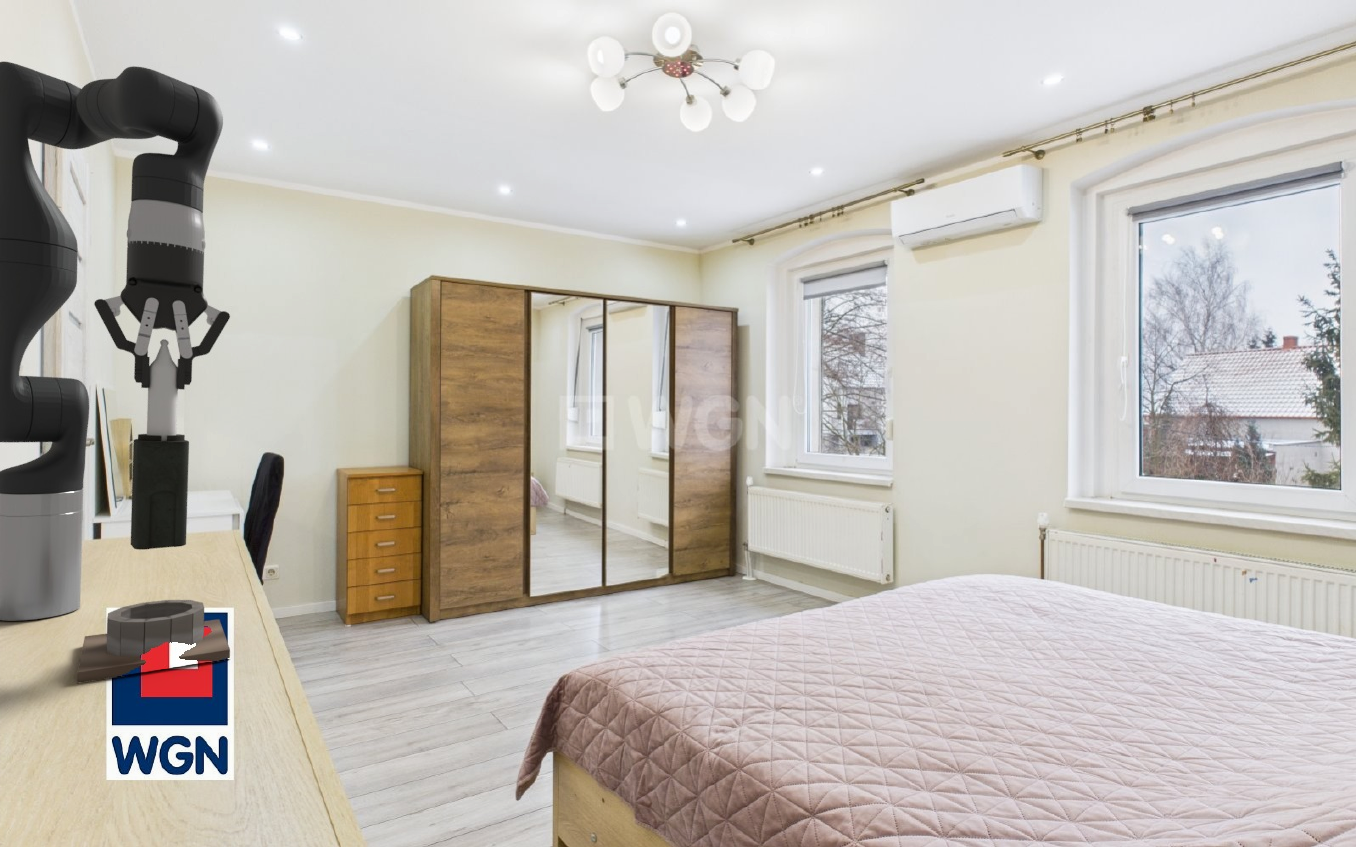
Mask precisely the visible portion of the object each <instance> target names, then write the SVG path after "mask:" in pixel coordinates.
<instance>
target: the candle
mask: <svg viewBox="0 0 1356 847" xmlns="http://www.w3.org/2000/svg"><path fill="white" fill-rule="evenodd" d="M159 344H160V346H159V350H158V352H157V354H156V356H155V359H154V360H153V361H152V362H151V363H150V364H149V388H147V410H146V412H147V413H146V414H147V416H146V418H147V421H146V433H139V434H137V438H136V439H133V449H132V451H133V452H132V477H131V478H132V483H131V484H132V486H131V517H130V518H131V520H130V522H131V523H130V545H131V547H132V548H133V549H134V550H139V551H140V550H154V549H161V548H177V547H178V548H179V547H182V546H183V547H184V546H186V545H187V524H188V493H189V492H188V490H189V489H188V488H189V487H188V485H189V461H190V460H189V459H190V458H189V456H190V455H189V454H190V441H188V440H186V438H185V434H181V433H180V434H179V433H178V434H177V429H178V428H177V425H178V424H177V422H178V393H179V392H178V390H179V389H177V387H178V365H177V364H176V363H175V361H174V360H173V358H172V355H171V353H170V349H169V346H168V345H170V344H169V341H168V339H166V338H165V339H161V340H160V342H159Z"/></svg>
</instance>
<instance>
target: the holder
mask: <svg viewBox="0 0 1356 847" xmlns="http://www.w3.org/2000/svg"><path fill="white" fill-rule="evenodd" d="M204 626H208V627H210V628H211V631H212V632H211V633H209V634H208V635H206V636H204ZM203 636H204V638H203ZM165 642H168V643H170V642H171V643H172V642H178V643H185V644H188V645H189V644H190V645H192V644H194V643H196V646H195V647H193V648H191V649H190V650H187V651H185V652H184V654H182V655H181V656H179V658H180V659H185V660H197V661H217V662H220V661H219V660H222V659H226V658H230V659H231V657H230V656H231V650H230V646H229V643H228V640H227V637H226V634H225V632H224V629H223V626H222V624H221V620H220V619H219V618H218V619H211V620H205V605H204V603H203V602H202V601H196V600H192V599H164V600H163V599H162V600H156V601H155V600H154V601H146V602H145V601H144V602H139V603H135V604H129V605H127V606H122V607H120V608H117V609H115V610H112V611H110V612H108V613H107V618H106V633H100V634H94V635H93V634H92V635H85V636H84V639H83V643H82V647H81V648H82V649H81V651H80V652H81V653H80V656H79V657H80V658H79V663H78V667H77V671H76V684H82V683H89V682H94V681H95V682H96V681H100V680H106V679H112V678H113V679H115V678H118V677H117V676H121V677H123V676H122V675H123V674H126V673H129V672H130V671H131V670H134V669H135V668H138V667H140V666H141V665H144V664H145V663H146V661H145V660H141V658H140V655H142V654H145V653H147V652H149V651H150V650H151V648H155V647H158V646H160V645H162V644H163V643H165Z"/></svg>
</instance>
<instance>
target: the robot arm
mask: <svg viewBox="0 0 1356 847" xmlns="http://www.w3.org/2000/svg"><path fill="white" fill-rule="evenodd" d="M223 125H224V117H223V112H222V109H221V107H220V104H219V103H218V101H217V100H216V99H215V97H214V96H213V95H212V94H211V93H210V92H208V91H205V90H204V89H203V88H199V87H197V86H195V85H191V84H189V83H186V82H184V81H181V80H179V79H176V78H174V77H171V76H169V75H167V74H165V73H161V72H159V71H157V70H154V69H151V68H148V67H143V66H134V65H133V66H128V67H126V68H125V69H123V71H121V73H120V74H119V75H118V76H116V77H115V78H103V79H96V80H92V81H90V82H89V83H86V84H84V86H83V87H82V88H80V87H78V86H77V85H75V84H73V83H71V82H68V81H66V80H64V79H59V78H57V77H54V76H51V75H48V74H46V73H43V72H40V71H37V70H35V69H32V68H29V67H27V66H24V65H20V64H17V63H14V62H10V61H0V443H51V446H50V448H49V449H48V450H47V451H46V453H44V454H42V455H41V456H39V457H36V458H35V459H32V460H29V461H27V462H25V463H22V464H18V465H15V466H11V467H8V468H4V469H1V470H0V621H7V622H8V621H9V622H11V621H13V622H15V621H17V622H18V621H29V620H38V619H39V620H40V619H45V618H52V617H57V616H61V615H65V614H68V613H72V612H74V611H77V610H79V608H81V590H82V588H81V586H82V585H81V584H82V559H83V558H82V554H83V549H82V548H83V513H84V510H83V508H84V478H85V477H84V476H85V468H86V450H87V448H86V447H87V438H88V430H89V429H88V426H89V421H90V420H89V418H90V397H89V392H88V389H87V388H86V385H85V384H84V383H83V382H82V381H81V380H80V379H78V378H71V377H70V378H69V377H68V378H67V377H57V376H56V377H55V376H53V377H52V376H34V375H20V371H21V364H22V361H23V358H24V355H25V353H26V351H27V349H28V346H29V345H30V343H31V342H32V340H33V339H34V337H36V334H38V332H39V331H40V330H41V329H42V328H43V326H44V325H45V324H46V323H47V322H48V321H50V319H51V318H52V317H53V316H54V315H55V314H56V313H58V311H59V310H60V309H61V308H62V306H63V305H64V304H66V302H67V301H68V300H69V299H70V297H71V296H72V295H73V293H74V292H75V290H76V287H77V283H78V251H79V250H78V240H77V237H76V235H75V232H74V231H73V229H72V227H71V225H70V224H69V222H68V221H67V218H66V217H65V215H64V214H63V213H62V211H61V209H60V208H59V207H58V205H57V203H56V202H55V200H53V198H52V197H51V195H50V194H49V193H48V191H47V189H46V188H45V186H44V185H43V183H42V181H41V179H40V177H39V175H38V173H37V171H36V168H35V166H34V163H33V159H32V155H31V150H30V144H29V140H32V141H34V142H38V143H42V144H45V145H49V146H52V147H56V148H60V149H65V150H81V149H86V148H89V147H92V146H94V145H97V144H101V143H103V142H107V141H110V140H112V139H125V140H147V139H152V138H155V137H161V138H165V139H168V140H171V141H173V142H176V143H177V149H176V151H175V152H174V154H170V153H169V154H168V153H161V152H160V153H159V152H143V153H140V154H138V155H136V156H135V158H134V160H132V161H133V162H132V169H131V197H130V208H129V209H130V210H129V214H128V220H127V231H126V238H127V248H126V276H125V277H126V279H125V283H126V284H125V285H124V287H123V289H122V290H121V291H120V295H118V296H113V297H109V298H105V299H102V298H98V299H96V300H95V301H94V304H93V305H94V307H95V308H96V311H97V313H98V315H99V316H100V318H101V320H102V322H103V324H104V325H105V328H106V329H107V331H108V333H109V335H110V338H111V340H112V341H113V343H114V345H115V346H116V348H117V349H118V350H120V351H121V350H122V351H124V352H128V353H130V354H132V355H133V356H134V376H133V378H134V380H135V383H137V384H138V383H139V384H141V389H148V388H149V366H150V361H151V360H150V356H148V355H149V352H148V351H149V344H150V341H151V337H152V333H153V330H162V329H164V330H165V329H166V330H168V331H169V330H170V331H172V332H174V331H175V337H176V342H177V348H178V352H179V358H177V367H178V387H177V389H178V390H185V387H186V386H189V385H190V384H191V383H192V375H193V361H194V359H195V358H197V357H200V356H201V357H202V356H205V355H208V354H209V353H210V352H211V350H212V349H213V347H214V346H215V343H216V341H217V340H218V339H219V337H220V336H221V334H222V332H223V330H224V328H225V327H226V325H227V323H228V322H229V320H230V318H231V315H230V313H229V312H227V311H225V310H224V311H223V310H222V311H221V310H220V309H217V308H215V307H213V306H212V305H209V304H208V301H207V298H206V297H205V294H204V275H205V274H204V272H205V270H204V269H205V268H204V265H205V249H206V240H205V238H206V237H205V232H206V231H205V223H204V214H203V213H204V188H205V187H204V184H205V180H206V177H207V176H206V175H207V173H208V170H209V165H210V162H211V159H212V156H213V154H214V153H215V152H214V151H215V149H216V147H217V144H218V141H219V140H220V136H221V134H222V130H223ZM123 305H124V306H125V307H126V308H127V310H128V311H129V312H130V313H131V314H132V315H133V317H134V318H135V319H136V321H137V322H138V323H139V324H140V325H139V329H138V333H137V338H136V342H134V341H131V340H128V339H127V338H126V335H125V334H124V332H123V330H122V328H121V325H120V324H119V322H118V320H117V319H116V317H119V316H120V314H121V306H123ZM203 313H205V314H206V320H205V321H206V323H207V324H208V325H209V326H210V327H209V328H208V330H207V332H206V333H205V335H204V337H203V339H202V340H201V342H200V344H199V345H196V346H192V342H191V334H190V330H189V329H190V328H189V327H190V326H191V325H193V323H195V321H196V320H198V318H200V316H201V315H202V314H203ZM185 385H186V386H185Z"/></svg>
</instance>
